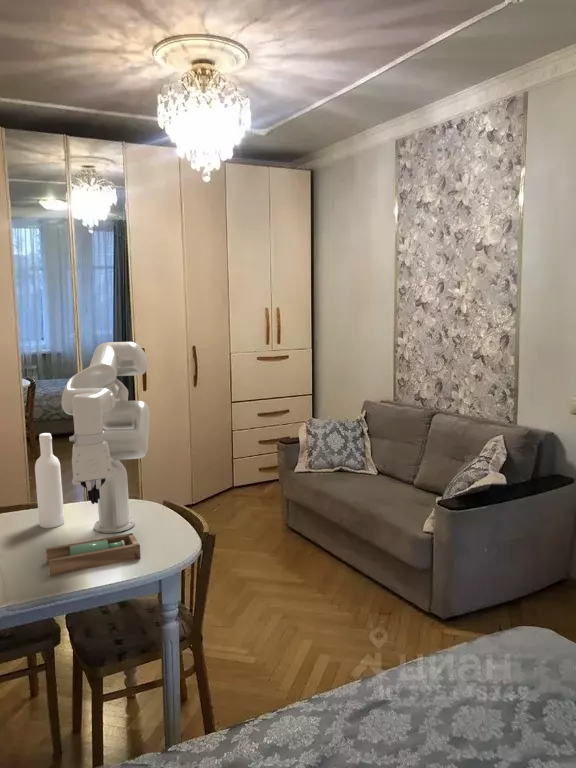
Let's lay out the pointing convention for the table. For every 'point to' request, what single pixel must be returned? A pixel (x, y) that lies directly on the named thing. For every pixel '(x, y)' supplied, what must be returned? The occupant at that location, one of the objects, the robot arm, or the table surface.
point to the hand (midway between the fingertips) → (94, 502)
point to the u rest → (92, 555)
